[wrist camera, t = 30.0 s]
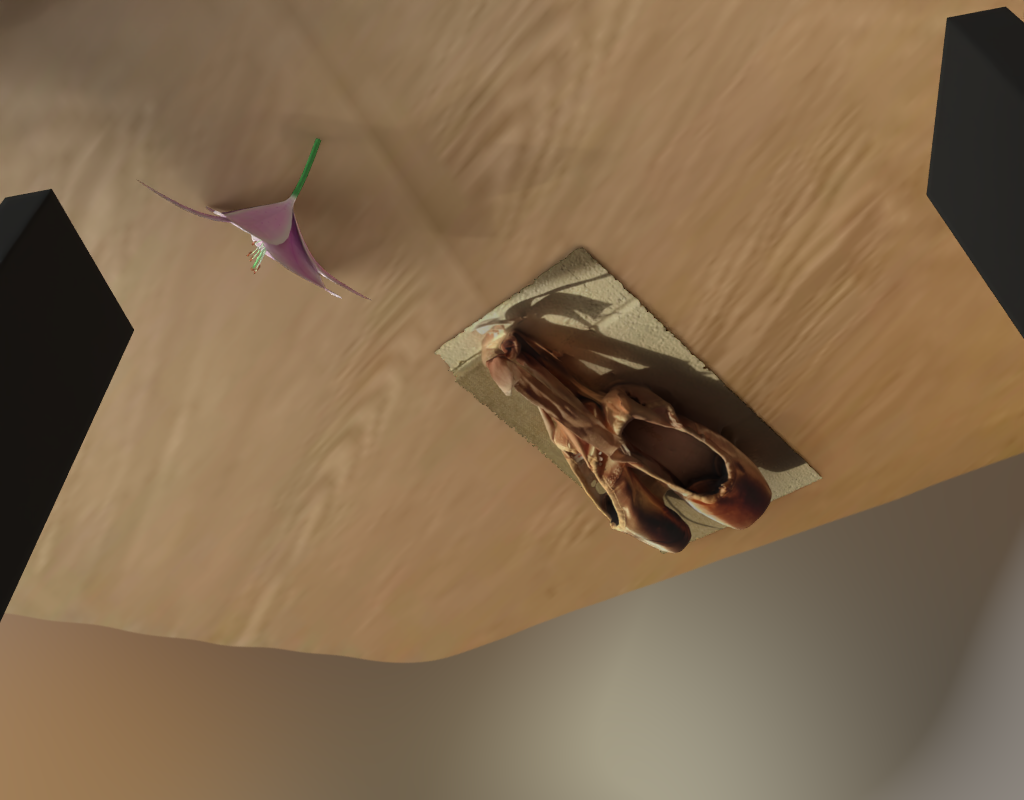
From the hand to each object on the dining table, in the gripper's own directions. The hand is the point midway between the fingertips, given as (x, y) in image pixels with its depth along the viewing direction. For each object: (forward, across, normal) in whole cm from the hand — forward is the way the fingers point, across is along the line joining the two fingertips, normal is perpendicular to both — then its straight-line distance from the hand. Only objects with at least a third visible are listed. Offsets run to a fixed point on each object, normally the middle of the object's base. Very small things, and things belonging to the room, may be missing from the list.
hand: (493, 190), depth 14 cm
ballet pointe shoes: (+35, +2, -39) cm, 52 cm away
